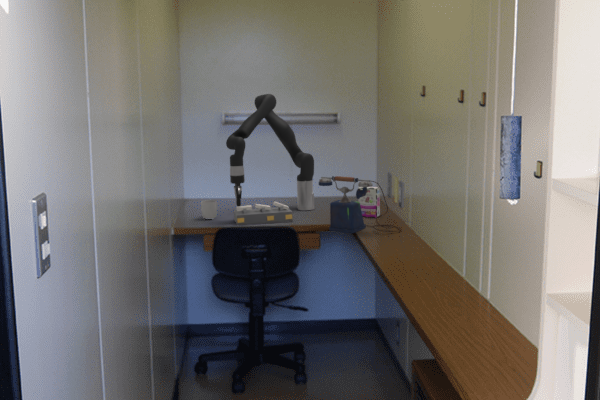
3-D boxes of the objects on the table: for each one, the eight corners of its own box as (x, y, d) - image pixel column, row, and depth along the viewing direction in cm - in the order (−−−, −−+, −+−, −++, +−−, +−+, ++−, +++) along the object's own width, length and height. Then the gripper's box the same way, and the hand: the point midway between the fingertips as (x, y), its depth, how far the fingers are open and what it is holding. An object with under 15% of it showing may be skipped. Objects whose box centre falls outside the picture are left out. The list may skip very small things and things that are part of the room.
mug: (219, 219, 353) (218, 201, 351) (203, 221, 350) (202, 203, 348) (214, 215, 365) (213, 198, 363) (199, 216, 362) (198, 199, 360)
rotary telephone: (406, 228, 322) (407, 175, 317) (389, 237, 304) (389, 181, 299) (335, 220, 343) (335, 170, 338) (315, 229, 325) (314, 176, 320)
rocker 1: (251, 207, 346) (250, 205, 346) (252, 209, 342) (251, 206, 342) (236, 209, 345) (236, 206, 344) (237, 211, 341) (237, 208, 341)
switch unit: (287, 216, 357) (287, 202, 355) (292, 221, 343) (292, 207, 342) (234, 220, 351) (233, 205, 349) (237, 225, 337) (236, 210, 335)
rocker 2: (286, 208, 351) (287, 205, 350) (287, 210, 347) (288, 207, 347) (273, 203, 349) (274, 201, 348) (274, 205, 345) (275, 202, 345)
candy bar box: (380, 216, 351) (380, 186, 348) (377, 218, 346) (377, 188, 343) (361, 214, 356) (361, 185, 353) (358, 216, 352) (357, 187, 349)
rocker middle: (269, 208, 348) (269, 205, 348) (270, 209, 345) (270, 207, 344) (254, 206, 347) (255, 203, 346) (255, 207, 343) (256, 205, 342)
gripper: (245, 175, 334) (247, 207, 337) (242, 171, 346) (244, 203, 350) (231, 176, 332) (233, 208, 335) (228, 172, 345) (230, 204, 348)
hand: (238, 205), depth 343 cm, fingers closed
